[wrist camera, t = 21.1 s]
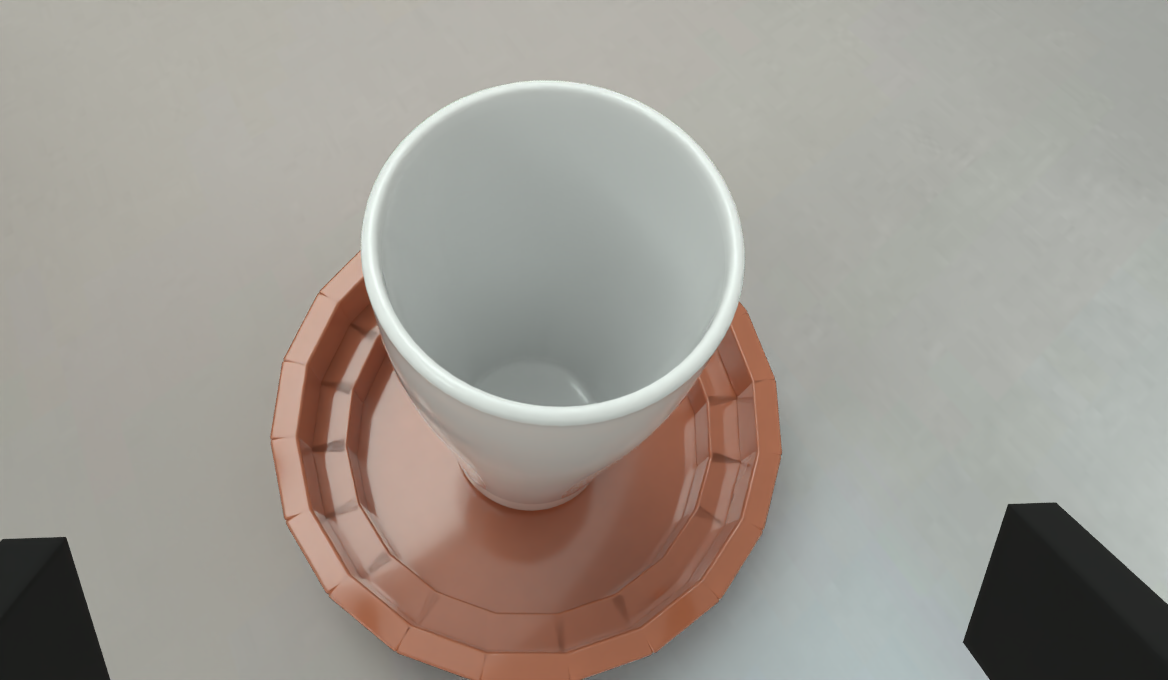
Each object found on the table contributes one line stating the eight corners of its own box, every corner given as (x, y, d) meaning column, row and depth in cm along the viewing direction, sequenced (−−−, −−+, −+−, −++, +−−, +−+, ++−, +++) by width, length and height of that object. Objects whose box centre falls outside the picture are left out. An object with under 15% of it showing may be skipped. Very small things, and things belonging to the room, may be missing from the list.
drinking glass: (428, 357, 27) (346, 80, 13) (610, 339, 28) (711, 63, 14) (441, 547, 25) (360, 452, 11) (639, 521, 26) (792, 403, 12)
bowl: (360, 743, 24) (328, 769, 19) (274, 302, 28) (234, 247, 24) (803, 588, 27) (859, 582, 22) (658, 213, 31) (682, 150, 27)
